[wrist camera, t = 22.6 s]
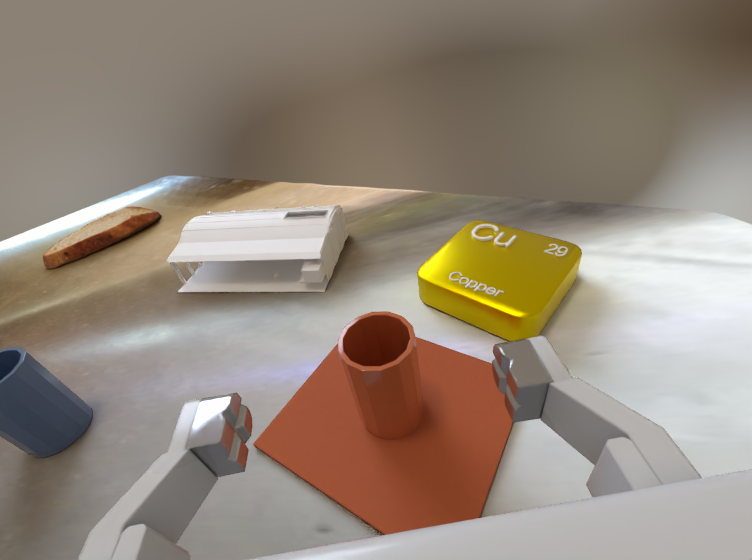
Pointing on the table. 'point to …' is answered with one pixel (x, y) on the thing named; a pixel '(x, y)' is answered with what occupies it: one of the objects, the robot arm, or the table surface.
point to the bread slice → (99, 235)
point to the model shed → (262, 250)
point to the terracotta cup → (383, 373)
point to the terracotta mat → (398, 444)
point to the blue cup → (37, 406)
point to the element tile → (500, 278)
